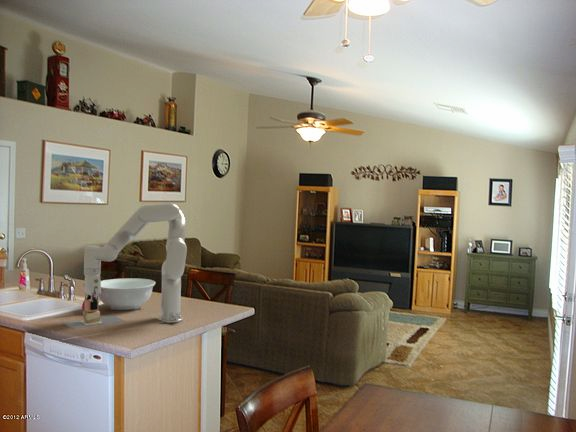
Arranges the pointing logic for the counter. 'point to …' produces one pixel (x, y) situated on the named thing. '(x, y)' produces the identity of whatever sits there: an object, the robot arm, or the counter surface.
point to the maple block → (91, 317)
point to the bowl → (126, 292)
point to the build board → (102, 321)
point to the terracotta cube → (87, 306)
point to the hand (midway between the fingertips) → (91, 308)
